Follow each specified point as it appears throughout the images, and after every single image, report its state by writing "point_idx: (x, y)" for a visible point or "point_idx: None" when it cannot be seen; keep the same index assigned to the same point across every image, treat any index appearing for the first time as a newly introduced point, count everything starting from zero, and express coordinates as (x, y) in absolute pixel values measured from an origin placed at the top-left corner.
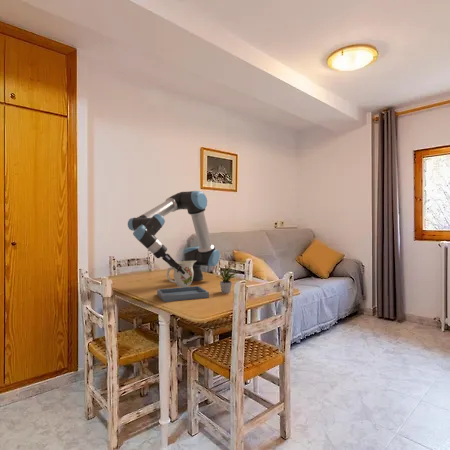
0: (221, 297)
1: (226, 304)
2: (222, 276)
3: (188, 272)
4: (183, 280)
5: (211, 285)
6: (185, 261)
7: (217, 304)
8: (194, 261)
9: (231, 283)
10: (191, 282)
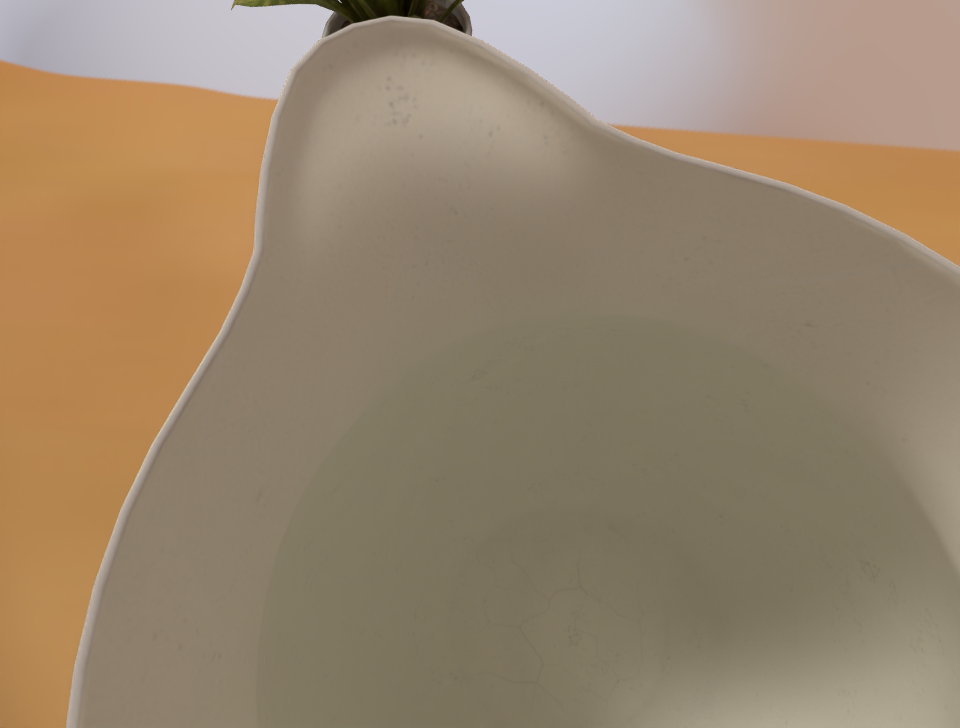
0: None
1: (928, 167)
2: (319, 2)
3: (850, 474)
4: (796, 630)
5: (26, 241)
6: (140, 532)
7: (943, 240)
8: (569, 97)
9: (432, 1)
10: (597, 458)
